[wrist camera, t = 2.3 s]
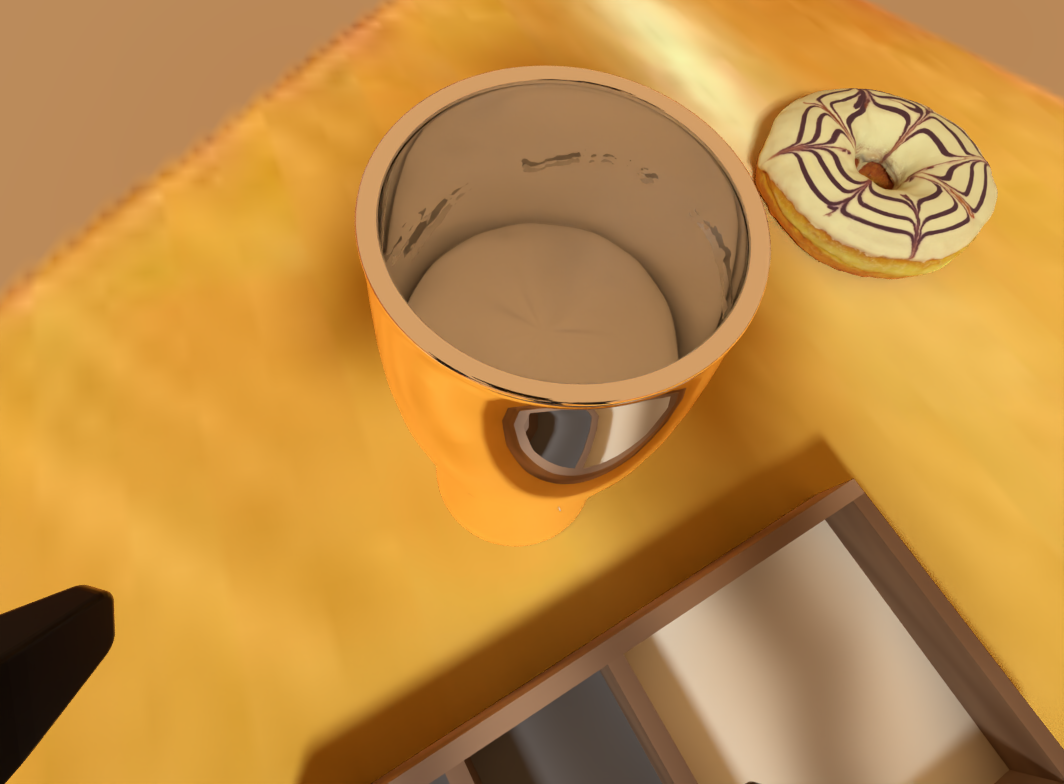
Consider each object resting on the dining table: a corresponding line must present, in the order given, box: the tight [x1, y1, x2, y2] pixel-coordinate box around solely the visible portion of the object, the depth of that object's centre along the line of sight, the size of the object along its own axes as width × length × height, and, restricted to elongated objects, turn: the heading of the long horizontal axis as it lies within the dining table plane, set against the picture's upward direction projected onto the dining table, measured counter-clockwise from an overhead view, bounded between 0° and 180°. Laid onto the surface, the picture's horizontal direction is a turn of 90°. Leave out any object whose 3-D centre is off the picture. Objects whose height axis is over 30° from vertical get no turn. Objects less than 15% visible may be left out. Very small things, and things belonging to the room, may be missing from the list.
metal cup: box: [355, 66, 771, 547], centre depth 16 cm, size 7×7×15 cm
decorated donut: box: [755, 88, 997, 279], centre depth 28 cm, size 10×11×4 cm
